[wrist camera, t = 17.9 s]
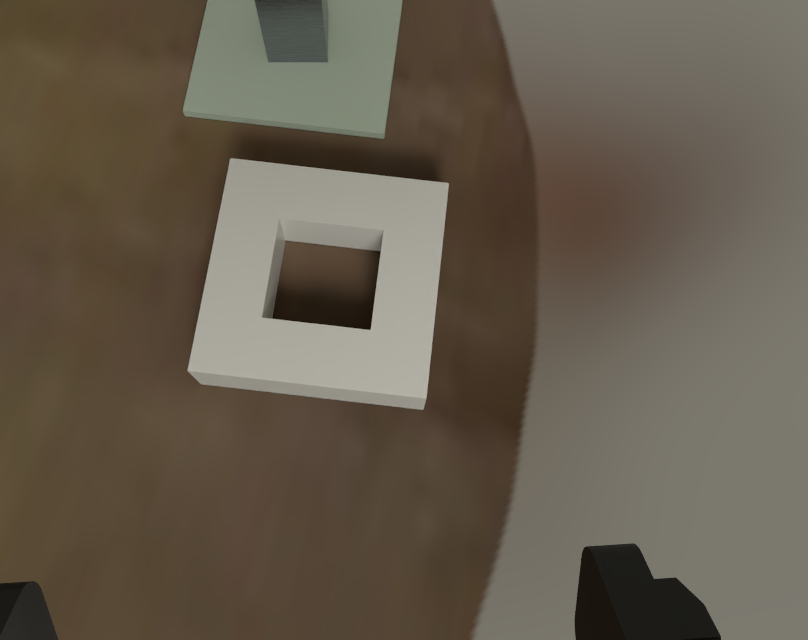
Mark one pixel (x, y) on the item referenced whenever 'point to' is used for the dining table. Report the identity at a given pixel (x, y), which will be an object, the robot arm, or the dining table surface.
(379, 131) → the sage mat
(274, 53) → the t-key
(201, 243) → the dining table surface
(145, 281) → the dining table surface
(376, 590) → the dining table surface
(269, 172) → the key socket
